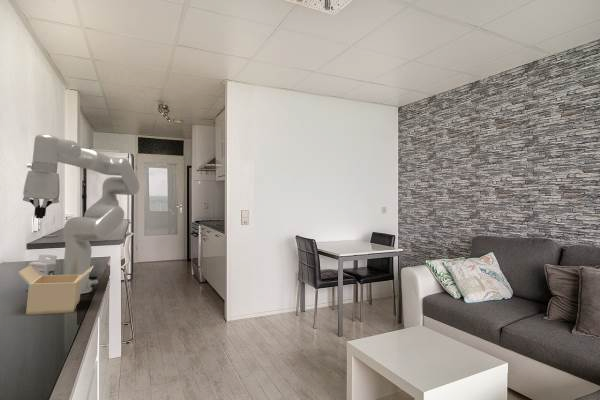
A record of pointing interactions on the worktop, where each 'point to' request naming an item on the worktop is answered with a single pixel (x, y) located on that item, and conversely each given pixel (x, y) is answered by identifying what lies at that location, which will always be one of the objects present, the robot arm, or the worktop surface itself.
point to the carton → (53, 294)
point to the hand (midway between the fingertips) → (39, 218)
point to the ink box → (44, 266)
